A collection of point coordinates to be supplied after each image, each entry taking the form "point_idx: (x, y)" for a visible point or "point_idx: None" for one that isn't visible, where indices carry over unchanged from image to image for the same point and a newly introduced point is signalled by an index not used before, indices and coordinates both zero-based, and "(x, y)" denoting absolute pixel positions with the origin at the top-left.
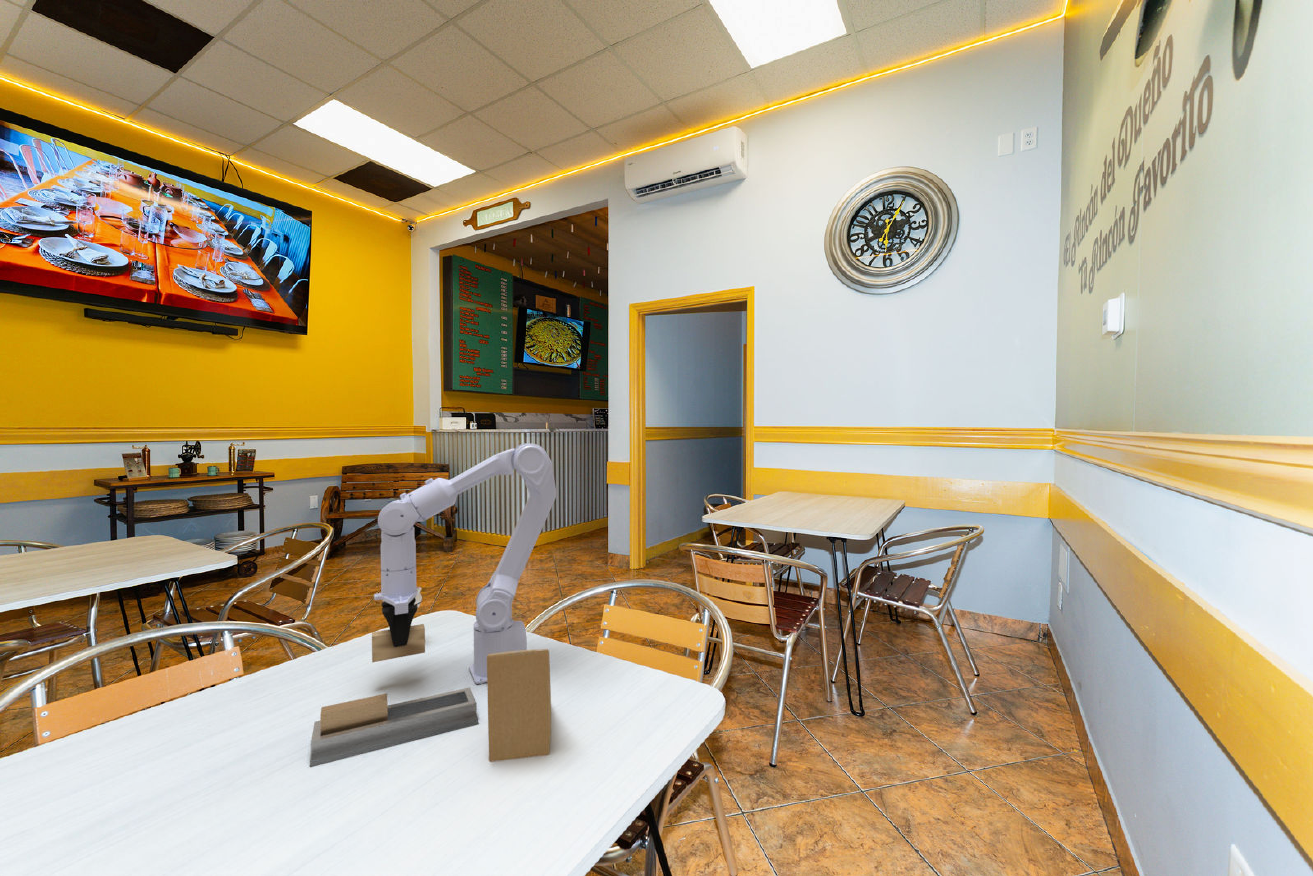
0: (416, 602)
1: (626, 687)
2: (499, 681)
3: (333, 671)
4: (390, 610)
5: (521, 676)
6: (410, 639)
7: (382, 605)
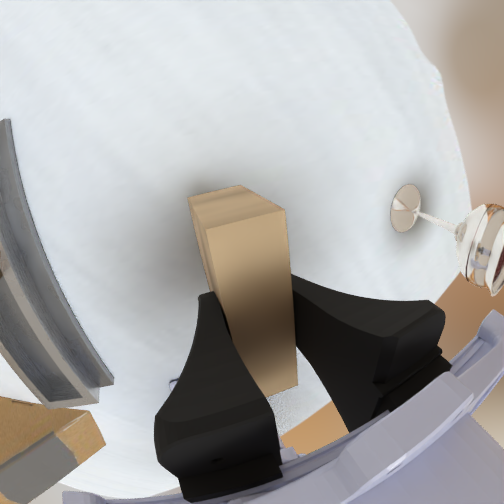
0: (470, 279)
1: (143, 478)
2: None
3: (349, 70)
4: (179, 468)
5: None
6: None
7: (391, 342)
